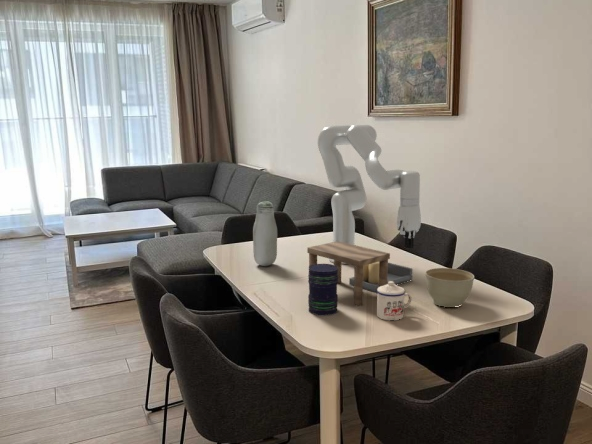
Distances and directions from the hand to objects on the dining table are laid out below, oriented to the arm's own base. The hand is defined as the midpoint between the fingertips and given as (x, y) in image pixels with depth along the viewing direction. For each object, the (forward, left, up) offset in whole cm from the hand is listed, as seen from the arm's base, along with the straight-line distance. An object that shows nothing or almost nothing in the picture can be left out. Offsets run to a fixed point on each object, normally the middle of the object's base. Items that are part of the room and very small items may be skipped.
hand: (409, 247), depth 229 cm
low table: (+35, -1, -12) cm, 37 cm away
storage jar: (+55, +7, -12) cm, 57 cm away
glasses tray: (+16, -1, -12) cm, 20 cm away
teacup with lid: (+41, +26, -12) cm, 50 cm away
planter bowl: (+18, +31, -12) cm, 38 cm away
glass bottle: (+34, -51, -12) cm, 62 cm away
